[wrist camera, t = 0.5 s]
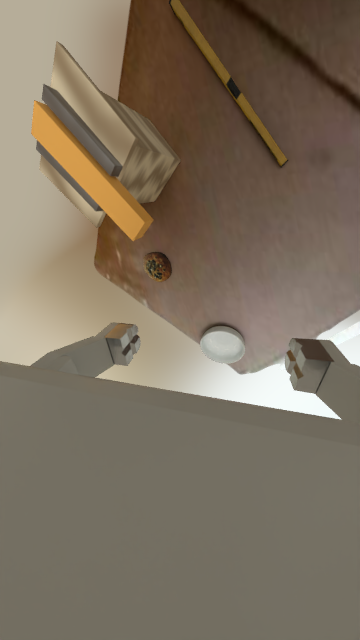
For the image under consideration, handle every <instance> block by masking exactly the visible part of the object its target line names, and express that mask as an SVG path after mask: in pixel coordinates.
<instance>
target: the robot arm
mask: <svg viewBox="0 0 360 640" xmlns="http://www.w3.org/2000/svg"><path fill="white" fill-rule="evenodd" d="M137 333H138V328H137V326H136V325H133V324H124V323H111V324H109V325H108V326H107V327H106V328H104V329H103V330H102V331H101V332H100V333H99V334H97V335H96V336H95V337H94V336H92V337H90V338H87V339H84V340H81V341H79V342H76V343H73V344H71V345H68V346H65V347H63V348H60V349H58V350H54V351H52V352H49V353H47V354H46V355H45V356H43V357H42V358H40V359H39V360H38V361H36V362H35V363H33V364H32V365H31V366H25V365H19V364H13V363H7V362H2V361H0V640H360V367H359V366H357V365H355V364H350V362H349V361H348V360H347V359H346V358H345V356H344V355H343V354H342V353H341V352H340V351H339V349H338V348H337V347H336V346H335V345H334V343H333V342H332V341H330V340H314V339H298V338H292V339H291V340H290V343H289V347H290V349H291V350H289V351H288V352H287V353H286V356H285V367H286V370H287V372H288V373H289V374H291V376H290V381H291V383H292V386H293V389H294V390H297V391H303V392H309V393H314V394H316V395H317V396H318V397H319V398H320V399H321V400H322V401H323V402H324V403H325V404H326V405H327V406H328V407H329V408H330V409H332V410H333V411H334V412H335V413H336V414H337V415H338V416H339V417H340V418H341V419H342V420H339V419H334V418H327V417H322V416H316V415H310V414H304V413H298V412H293V411H287V410H281V409H275V408H269V407H263V406H258V405H252V404H246V403H240V402H235V401H228V400H223V399H217V398H212V397H206V396H200V395H194V394H188V393H182V392H176V391H170V390H164V389H159V388H152V387H147V386H140V385H135V384H129V383H124V382H118V381H112V380H106V379H100V378H95V377H96V376H98V375H99V374H101V373H102V372H104V371H105V370H107V369H108V368H110V367H112V366H113V365H114V364H117V365H125V366H128V364H129V363H130V361H131V360H132V359H133V354H135V353H137V351H138V350H139V347H140V338H139V336H138V335H137Z"/></svg>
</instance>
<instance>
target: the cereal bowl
mask: <svg viewBox="0 0 360 640" xmlns="http://www.w3.org/2000/svg"><path fill="white" fill-rule="evenodd" d="M200 347H201V350H202V352H203V353H204V354H205V355H206V356H207V357H208V358H210V359H211V360H213V361H216V362H219V363H233V362H236V361H238V360H240V359H241V358H242V357H243V355H244V353H245V343H244V340H243V338H242V336H241V335H240V334H239V333H238V332H237V331H236V330H234V329H232V328H230V327H226V326H216V327H212V328H210V329H209V330H207V331H206V332H205V333H204V334H203V336H202V339H201V341H200Z"/></svg>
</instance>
